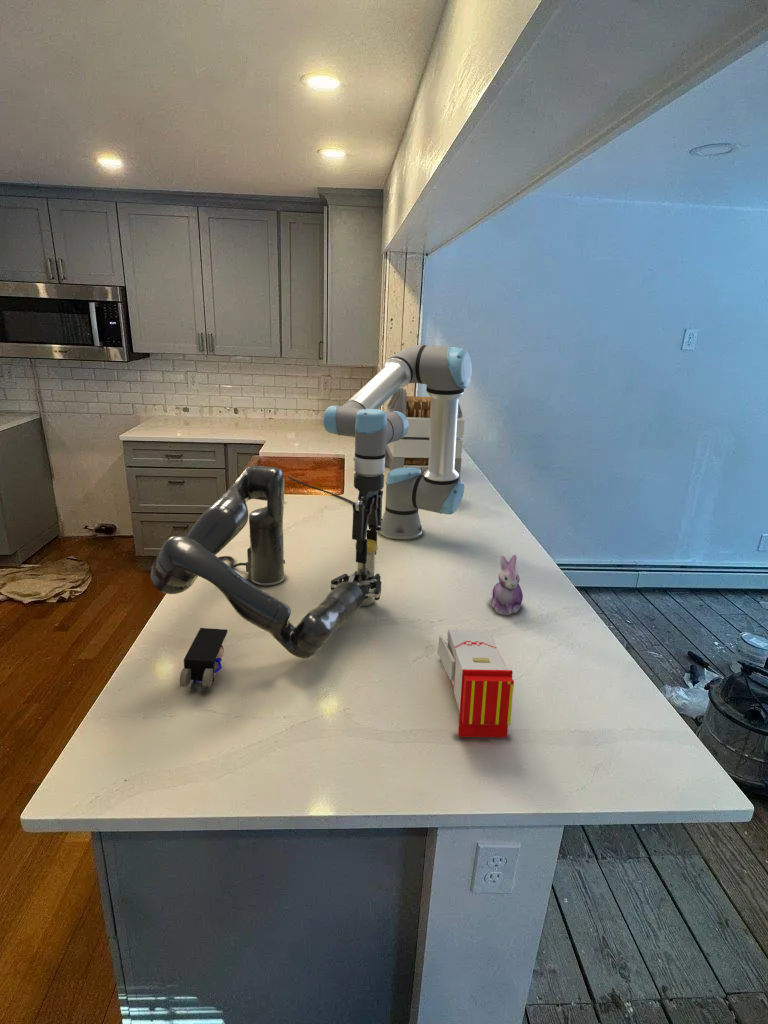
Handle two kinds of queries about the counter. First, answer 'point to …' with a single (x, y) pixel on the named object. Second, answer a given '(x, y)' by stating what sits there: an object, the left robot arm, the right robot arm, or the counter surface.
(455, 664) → the toy
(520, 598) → the figurine
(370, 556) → the bottle
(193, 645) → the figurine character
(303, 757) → the counter surface
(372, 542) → the lid
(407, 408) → the white wooden crate
